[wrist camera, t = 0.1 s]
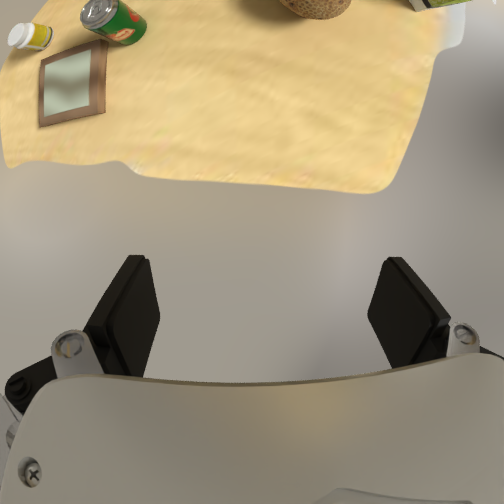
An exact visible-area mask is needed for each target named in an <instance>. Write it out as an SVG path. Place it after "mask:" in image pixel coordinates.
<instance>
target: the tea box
mask: <svg viewBox="0 0 504 504" xmlns="http://www.w3.org/2000/svg"><path fill="white" fill-rule="evenodd" d="M466 1H471V0H409V2H410V3H411V4H412V6H413V8H414V9H415V11H416V12H419V11H424V10H428V9H433V8H438V7H444V6H450V5H454V4H458V3H462V2H466Z"/></svg>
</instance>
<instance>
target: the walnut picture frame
mask: <svg viewBox="0 0 504 504" xmlns="http://www.w3.org/2000/svg"><path fill="white" fill-rule="evenodd" d="M107 49H108V42H107V41H105V40H102V39H99V40H95V41H92V42H89V43H85V44H82V45H79V46H76V47H73V48H71V49H68V50H65V51H62V52H60V53H57V54H55V55H52V56H50V57H47V58H45V59H43V60H41V67H40V83H39V124H40V127H44V126H49V125H52V124H56V123H60V122H64V121H68V120H72V119H76V118H81V117H86V116H90V115H95V114H101V113H105V89H106V63H107Z"/></svg>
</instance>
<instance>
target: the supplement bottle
mask: <svg viewBox="0 0 504 504" xmlns="http://www.w3.org/2000/svg"><path fill="white" fill-rule="evenodd" d="M53 36H54V31H53V29H52V28H51V27H47V26H44V25H39V24H35V23H27V24H25V23H19V24H17V25H16V26H15V27H14V28H13V29H12V30H11V32H10V34H9V36H8V44H9V45H10V46H14V47H16V48H17V49H25V50H34V51H42V50H44V49H45V48H47V47H48V46H49V44H50V43H51V41H52V39H53Z"/></svg>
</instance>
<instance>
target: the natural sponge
mask: <svg viewBox="0 0 504 504" xmlns="http://www.w3.org/2000/svg"><path fill="white" fill-rule="evenodd" d="M279 1H280V2H281V3H282V4H283V5H284V6H286V7H287V8H289V9H290V10H292V11H293V12H295V13H296V14H298V15H300V16H302V17H305V18H309V19H318V20H323V19H330V18H334V17H336V16H338V15H340V14H341V13H343V12H344V11H345V10H346V9H347V8H348V7H349V5H350V3H351V0H279Z"/></svg>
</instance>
